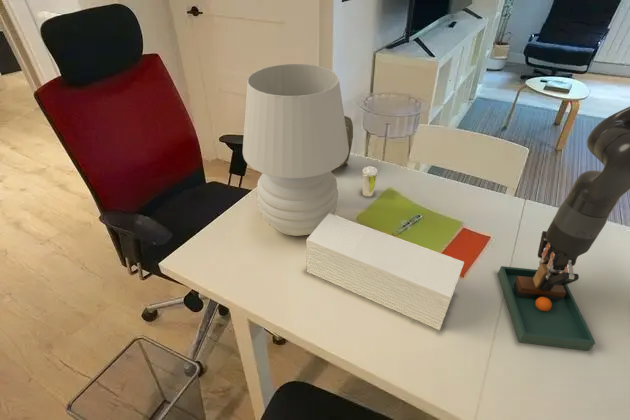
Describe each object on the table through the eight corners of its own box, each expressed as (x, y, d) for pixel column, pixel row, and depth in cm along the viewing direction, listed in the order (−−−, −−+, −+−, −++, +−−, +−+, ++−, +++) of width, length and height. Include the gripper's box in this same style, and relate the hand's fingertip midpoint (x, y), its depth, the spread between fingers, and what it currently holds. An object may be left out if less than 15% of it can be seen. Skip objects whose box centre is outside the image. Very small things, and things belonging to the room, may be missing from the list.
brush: (555, 288, 83) (570, 264, 78) (560, 301, 81) (576, 277, 76) (512, 284, 85) (525, 260, 79) (517, 296, 82) (530, 272, 77)
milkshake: (375, 200, 111) (379, 171, 105) (358, 196, 113) (361, 168, 107) (379, 191, 115) (383, 163, 108) (362, 188, 116) (365, 160, 110)
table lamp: (362, 218, 105) (376, 76, 80) (302, 270, 90) (297, 114, 65) (295, 185, 118) (290, 53, 92) (233, 225, 102) (207, 81, 77)
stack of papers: (452, 294, 84) (464, 261, 77) (439, 330, 77) (451, 297, 70) (328, 244, 96) (329, 212, 90) (306, 271, 89) (306, 239, 82)
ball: (549, 295, 80) (556, 302, 77) (546, 307, 81) (552, 314, 78) (534, 293, 80) (540, 300, 78) (531, 305, 81) (537, 313, 78)
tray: (556, 280, 87) (561, 272, 86) (588, 350, 73) (595, 343, 72) (497, 273, 89) (501, 265, 87) (518, 342, 75) (523, 334, 73)
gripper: (615, 252, 64) (572, 313, 75) (583, 203, 75) (549, 262, 86) (569, 247, 65) (532, 308, 76) (543, 200, 76) (514, 258, 87)
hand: (541, 283), depth 81 cm, fingers closed on brush, 2 cm apart
